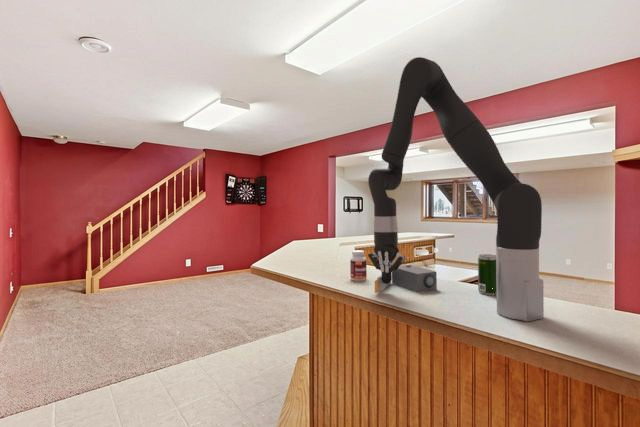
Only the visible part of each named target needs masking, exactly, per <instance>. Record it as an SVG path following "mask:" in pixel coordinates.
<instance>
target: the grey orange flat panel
mask: <svg viewBox="0 0 640 427" xmlns="http://www.w3.org/2000/svg"><path fill="white" fill-rule="evenodd" d="M391 283H392V281H391V282H390V283H389V284H384V283H383V281H382V274H381V275H379V276H378V277H377V278H376V279H375V280H374V293H375V294H378V293H381V292H382V291H383V290H384V289H385V288H386V287H387V286H389V285H391Z"/></svg>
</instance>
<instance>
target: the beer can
mask: <svg viewBox="0 0 640 427" xmlns="http://www.w3.org/2000/svg"><path fill="white" fill-rule="evenodd" d="M477 274H478V276H477V278H478V279H477V281H478V284H477V286H478V290H477V291H478V293H479V294H481V295H484V296H497V279H496V254H488V253H487V254H486V253H484V254H483V253H482V254H478V258H477ZM492 288H493V289H492Z"/></svg>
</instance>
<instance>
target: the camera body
mask: <svg viewBox="0 0 640 427" xmlns="http://www.w3.org/2000/svg"><path fill="white" fill-rule="evenodd" d="M391 276H392V280H391V283H392V284H393V285H397V286H399V287H402V288H405V289H407V290H410V291H413V292H415V293H422V292H423V293H424V292H429V291H437V288H438V287H437V286H438V285H437V284H438V283H437V271H435V270H431V269H429V268H424V267H421V266H420V267H419V266H417V265H412V264H411V263H410V264H409V263H407V264H402V265H400V266H399V267H398V269H397V270H394V271H392V272H391Z"/></svg>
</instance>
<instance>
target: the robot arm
mask: <svg viewBox="0 0 640 427" xmlns="http://www.w3.org/2000/svg"><path fill="white" fill-rule="evenodd" d="M421 98H422V99H423V100H424V101H425V102H426V103H427V104H428V107H430V108H431V110H432V111H433V112H434V114H435V116H436V118H437V122H438V125H439V127H440V130H441V132H442V135H443V137H444V139H445V141H447V143H448V144H449V146H450V147H451V148H452V150H453V151H454V153H455V154H456V156H458V158H459V159H460V160H461V161H462V163H463V164H464V165H465V166H466V167H467V168H468V169H469V170H470V171H471V173H472V174H473V175H474V176H475V177H476V178H477V179H478V180H479V182H480V184H481V185H482V186H483V187H484V189H485V191H486V192H487V195H488V196H489V198H490V199H491V201H492V203H493V205H494V207H495V209H496V212H497V217H496V218H497V219H496V221H497V223H496V225H497V228H496V230H497V231H496V236H495V247H496V248H495V249H496V250H495V253H496V254H495V255H496V279H497V294H496V313H497V314H498V315H500V316H503V317H504V318H509V319H513V320H517V321H518V320H519V321H524V322H532V321H536V320H540V319H543V318H544V301H545V300H544V279H543V278H540V239H541V236H542V222H543V221H542V216H543V215H542V214H543V213H542V211H543V210H542V205H543V204H542V197H541V194H540V193H539V191H538V190H537V189H536V188H535V187H533V186H532V185H530V184H527V183H523V182H521V181H520V180H519V179H518V177H516V176H515V174H514V173H513V172H512V171H511V170H510V168H509V167H508V165H506V163H505V161H504V160H503V157H502V155H501V153H500V151H499V149H498V146H497V144H496V143H495V141H494V139H493V138H492V134H490V132H489V131H488V129H487V127H485V125H484V124H483V123H482V122H481V120H480V119H479V117H477V116H476V115H475V113H474V112H473V111H472V109H470V107H469V106H468V105H467V104H466V102H464V101H463V100H462V98H461V97H460V96H459V95H458V94H457V93H456V91H455V90H454V88H453V86H452V85H451V83H450V81H449V80H448V78H447V76H446V74H445V73H444V71H443V69H442V67H441V66H440V65H439V64H438V63H437V62H436V61H435V60H431V59H428V58H425V57H422V56H421V57H420V56H419V57H414V58H411V59H410V60H409V61H408V62H407V63H406V64H405V65H404V67H403V69H402V72H401V75H400V80H399V85H398V91H397V98H396V102H395V106H394V112H393V116H392V121H391V125H390V128H389V132H388V135H387V137H386V139H385V143H384V146H383V150H382V152H381V159H382V161H384V162H385V163H387V164H388V166H387V168H382V167H381V168H380V167H379V168H378V167H377V168H374V169H372V170H371V171H370V173H369V175H368V181H367V182H368V188H369V190H370V191H369V192H370V195H371V198H372V201H373V204H374V207H373V210H374V214H373V215H374V217H373V220H374V221H373V242H374V248H373V250H372V252H370V253H368V255H367V256H368V258H369V259H370V261H371V263H372V265H373V267H375V269H376V270H379V271H380V272H381V275H382V281H383V283H384V284H389V283H390V282H391V283H392V271H394V270H397V269H398V267H399V266H402V265H401V264H402V263H403V262H404V261H405V260H406V256H405V255H402V254H401V253H400V250H399V248H398V244H399V242H398V241H399V240H398V238H399V236H398V235H399V233H398V232H399V228H398V220H397V217H398V216H397V202H396V199H395V198H392V197H390V196H389V195H388V194H387V191H395V190H397V189H398V188H399V186H400V185H401V183H402V179H403V171H404V162H405V161H404V160H405V158H406V155H407V152H408V149H409V146H410V144H411V141H412V136H413V125H414V120H415V114H416V110H417V107H418V105H419V102H420V100H421ZM394 260H395V261H394ZM391 283H390V284H391ZM390 284H389V285H390Z"/></svg>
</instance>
